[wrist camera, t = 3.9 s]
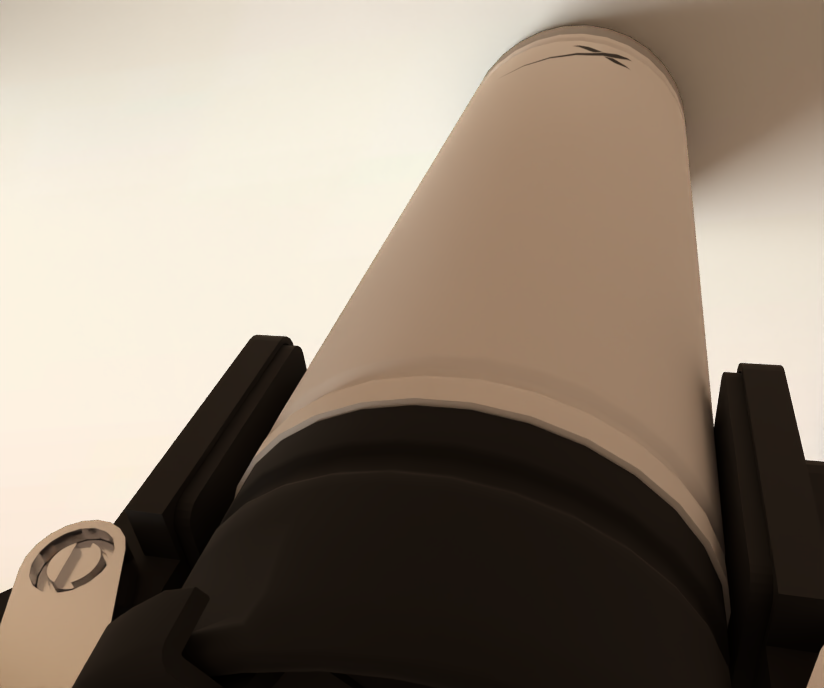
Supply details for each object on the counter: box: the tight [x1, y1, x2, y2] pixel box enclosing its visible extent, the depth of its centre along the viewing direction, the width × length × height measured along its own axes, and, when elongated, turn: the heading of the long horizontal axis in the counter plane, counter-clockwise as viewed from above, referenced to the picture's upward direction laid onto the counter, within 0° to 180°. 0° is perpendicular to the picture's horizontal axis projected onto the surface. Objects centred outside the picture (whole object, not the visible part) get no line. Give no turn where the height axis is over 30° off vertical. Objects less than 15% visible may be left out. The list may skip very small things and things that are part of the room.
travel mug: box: [72, 25, 732, 688], centre depth 15 cm, size 6×7×20 cm
